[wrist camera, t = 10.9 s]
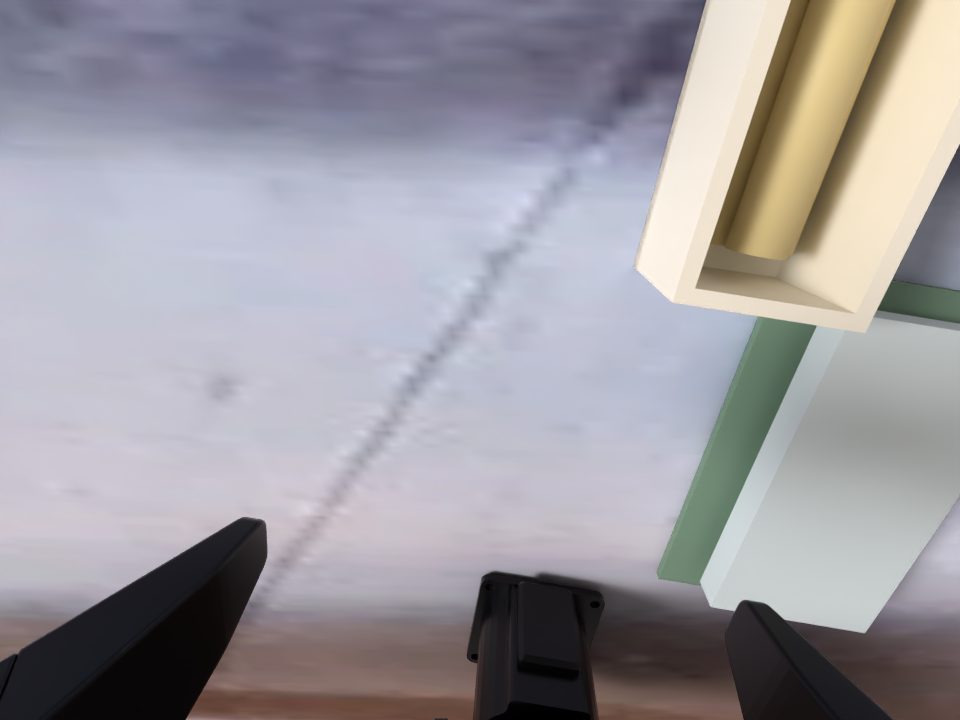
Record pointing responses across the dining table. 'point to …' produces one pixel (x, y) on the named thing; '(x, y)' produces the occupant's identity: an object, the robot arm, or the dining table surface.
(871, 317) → the pencil box
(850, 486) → the lid
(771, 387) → the felt mat
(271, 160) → the dining table surface
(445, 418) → the dining table surface
